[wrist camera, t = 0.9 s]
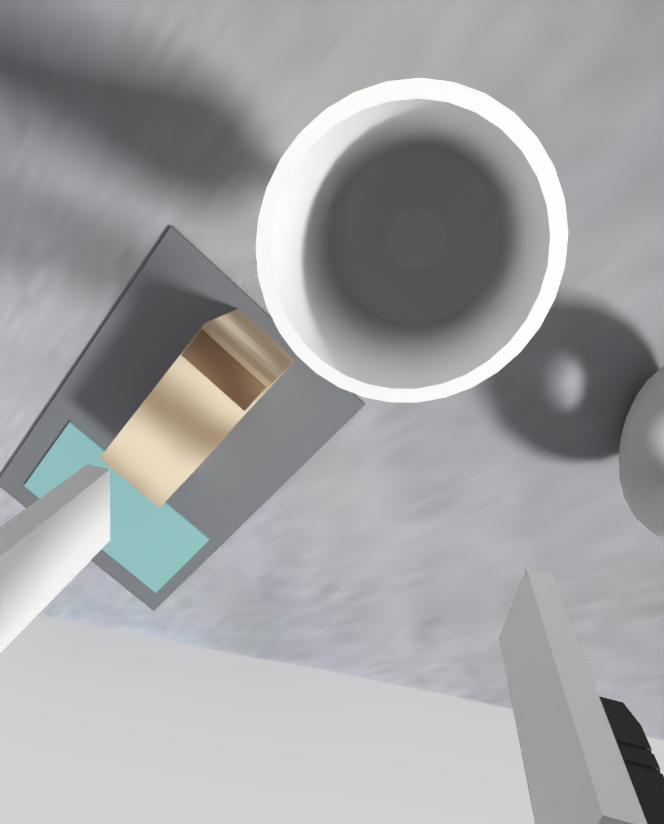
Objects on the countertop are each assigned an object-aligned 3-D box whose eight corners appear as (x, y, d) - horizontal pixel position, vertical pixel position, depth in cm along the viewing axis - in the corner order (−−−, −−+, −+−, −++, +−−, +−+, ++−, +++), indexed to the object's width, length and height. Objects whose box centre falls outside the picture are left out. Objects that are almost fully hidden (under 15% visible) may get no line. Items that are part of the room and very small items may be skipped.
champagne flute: (479, 285, 30) (634, 443, 8) (369, 300, 32) (243, 468, 9) (472, 164, 28) (659, -79, 6) (355, 185, 30) (149, 54, 7)
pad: (25, 484, 41) (23, 485, 41) (71, 421, 38) (69, 422, 38) (156, 591, 43) (155, 593, 43) (210, 538, 40) (209, 539, 40)
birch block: (195, 470, 38) (158, 509, 33) (143, 426, 37) (98, 458, 32) (294, 360, 34) (270, 384, 28) (238, 308, 33) (203, 323, 28)
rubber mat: (-2, 481, 42) (-4, 483, 42) (173, 226, 32) (170, 226, 32) (155, 608, 44) (153, 610, 44) (364, 403, 34) (364, 405, 34)
